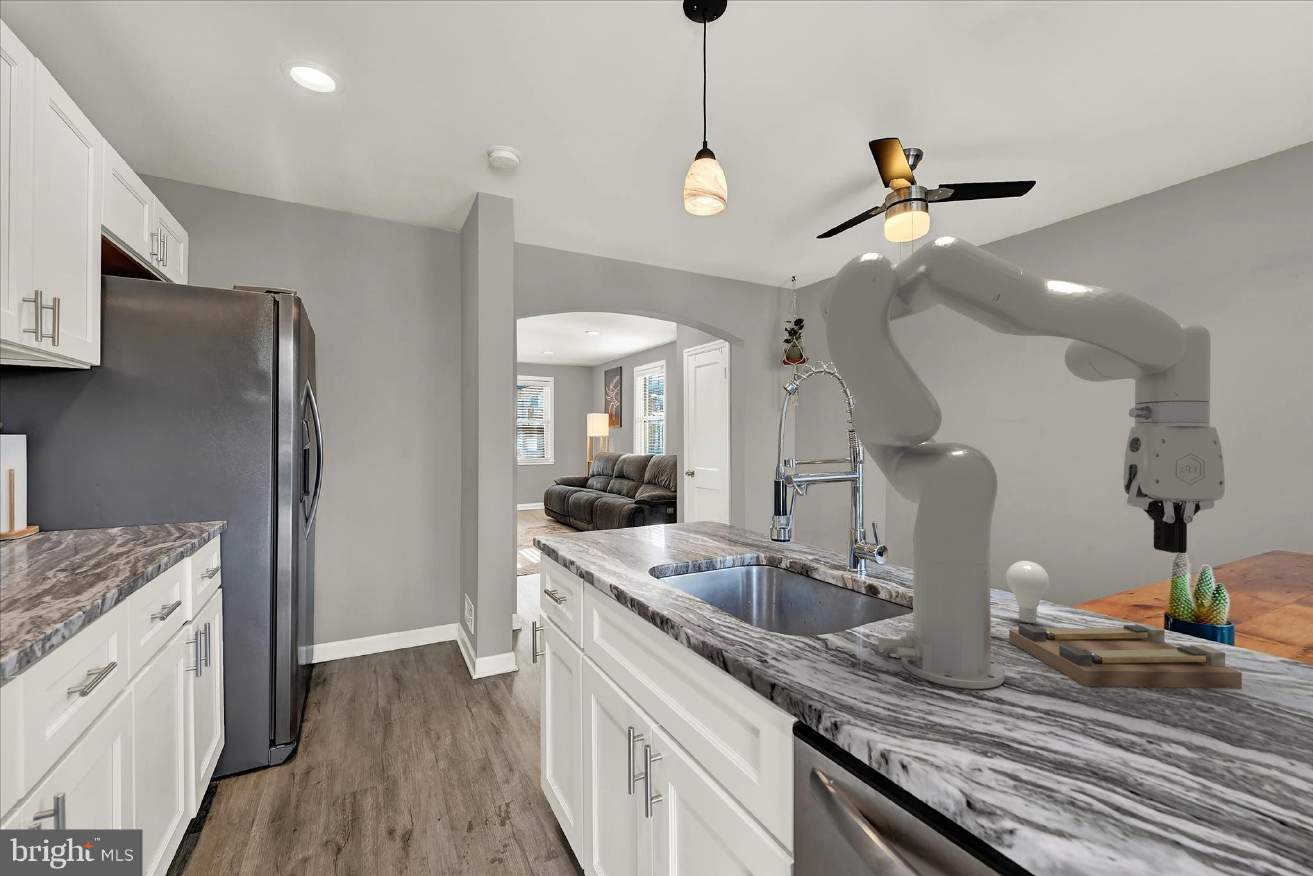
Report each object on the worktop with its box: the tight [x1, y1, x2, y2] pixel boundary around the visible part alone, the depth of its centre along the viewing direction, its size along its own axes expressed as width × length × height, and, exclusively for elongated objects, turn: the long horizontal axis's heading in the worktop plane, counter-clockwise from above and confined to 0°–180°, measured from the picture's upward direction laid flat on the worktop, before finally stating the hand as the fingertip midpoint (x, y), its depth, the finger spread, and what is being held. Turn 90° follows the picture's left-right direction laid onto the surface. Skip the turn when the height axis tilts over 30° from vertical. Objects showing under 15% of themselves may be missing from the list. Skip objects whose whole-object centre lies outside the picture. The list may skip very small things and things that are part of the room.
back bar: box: [1038, 624, 1148, 640], centre depth 84 cm, size 15×2×1 cm, turn 89°
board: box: [1008, 623, 1243, 689], centre depth 80 cm, size 20×16×4 cm
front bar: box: [1083, 646, 1206, 663], centre depth 75 cm, size 15×2×1 cm, turn 89°
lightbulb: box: [1005, 560, 1051, 625], centre depth 97 cm, size 6×6×11 cm
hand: (1169, 550), depth 75 cm, fingers closed
